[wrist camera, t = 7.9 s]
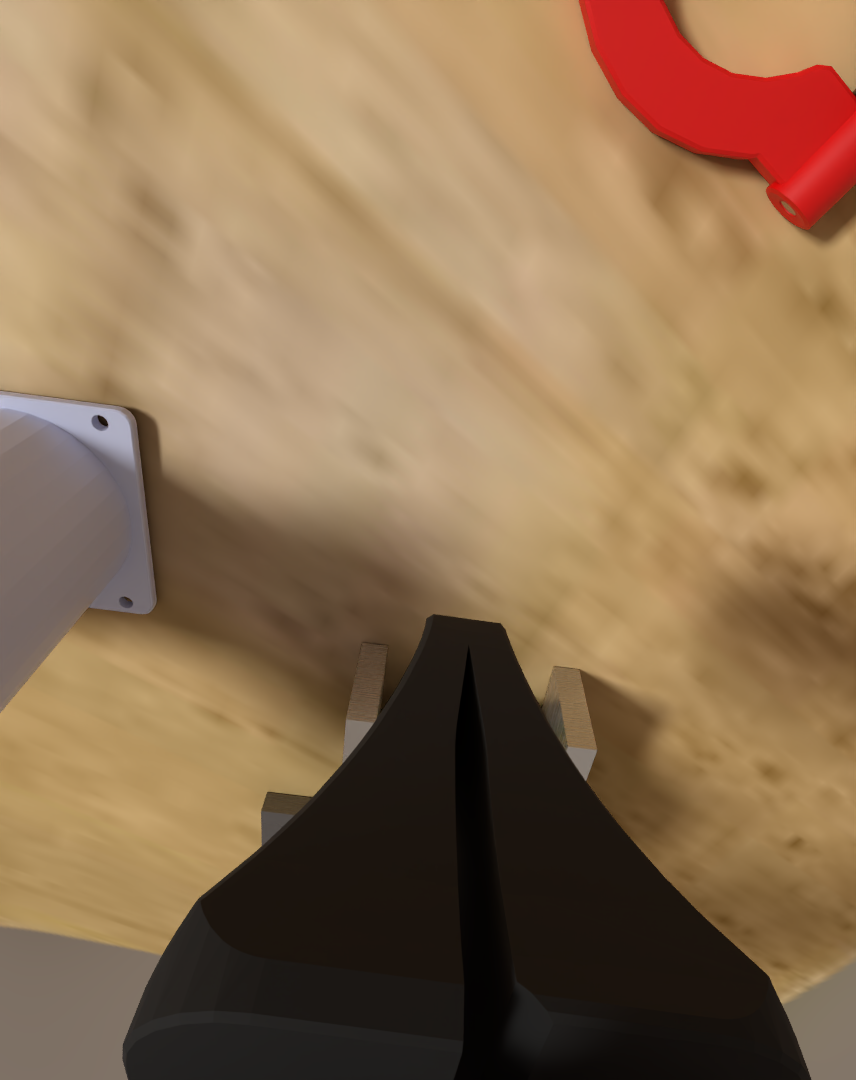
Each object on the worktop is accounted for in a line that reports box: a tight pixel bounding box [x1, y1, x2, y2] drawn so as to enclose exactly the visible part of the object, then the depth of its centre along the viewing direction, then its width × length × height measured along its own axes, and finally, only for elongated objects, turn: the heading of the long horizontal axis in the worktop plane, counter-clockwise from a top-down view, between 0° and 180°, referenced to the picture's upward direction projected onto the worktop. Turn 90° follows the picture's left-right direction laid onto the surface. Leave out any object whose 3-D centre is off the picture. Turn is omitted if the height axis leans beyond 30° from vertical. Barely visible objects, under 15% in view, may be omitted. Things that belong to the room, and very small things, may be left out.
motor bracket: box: [261, 643, 597, 846], centre depth 27 cm, size 16×16×6 cm
